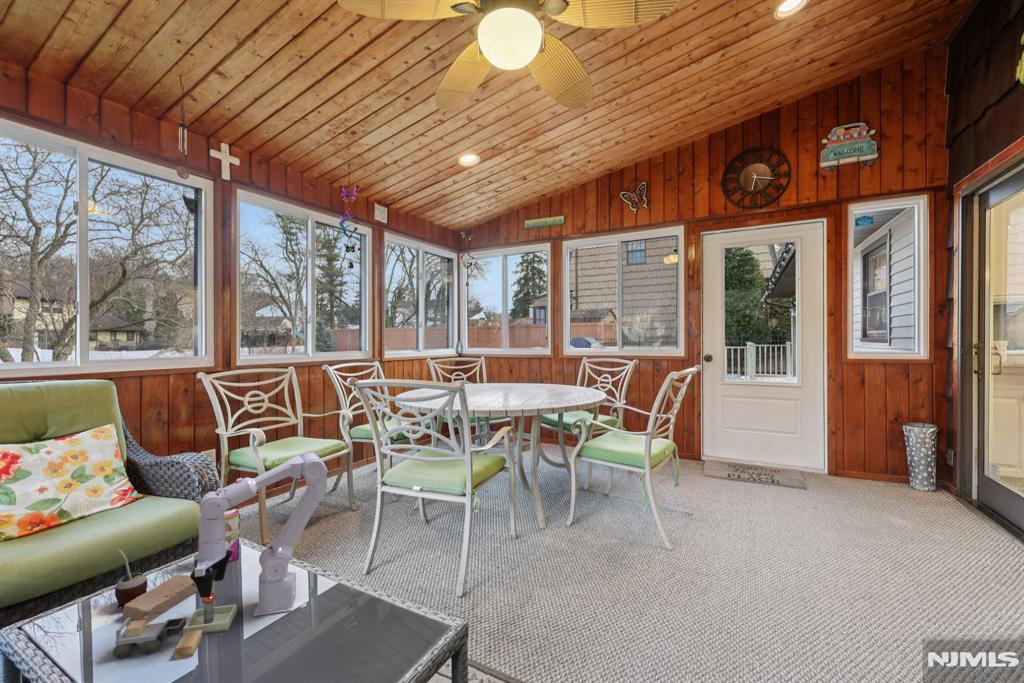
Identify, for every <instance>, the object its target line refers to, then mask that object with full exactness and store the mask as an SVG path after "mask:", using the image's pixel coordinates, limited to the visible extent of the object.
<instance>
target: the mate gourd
mask: <svg viewBox="0 0 1024 683" xmlns="http://www.w3.org/2000/svg"><path fill="white" fill-rule="evenodd" d="M118 552H119V553H120V555H121V556H122V557H123V562H124V563H125V567H126V572H127V575H125V576H123V577H121V578H120V579H119V580H118V581H117V583H116V585H115V587H114V597H115V599H116V602H117V609H122V608H124V605H125V604H127V603H129V602H130V601H132V600H134V599H135V598H137V597H138V596H140V595H142V594H144V593H146V592H148V591H147V589H148V579H147V576H146V575H145V574H144V573H143V572H133V573H131V571H130V566H129V562H128V561H129V560H128V557H127V555H126V554H125V553H124V552H123V550H121V549H118Z"/></svg>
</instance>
